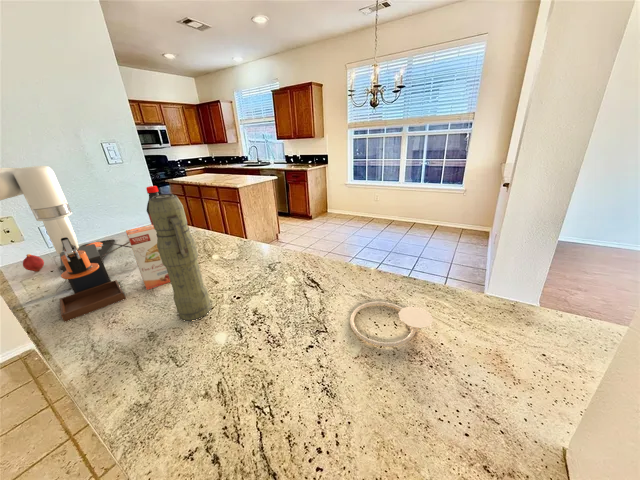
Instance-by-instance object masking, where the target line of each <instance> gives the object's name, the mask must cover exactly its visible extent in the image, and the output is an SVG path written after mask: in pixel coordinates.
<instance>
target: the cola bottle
mask: <svg viewBox="0 0 640 480" xmlns="http://www.w3.org/2000/svg"><path fill="white" fill-rule="evenodd" d="M145 190H146V193H147V195H148V201H147V204H146V213H147V215H148V219H149V221H150V225H153V222H152V219H151V216H150V213H149V199H151V198H152V197H154V196H157V195H160V193H159V192H160V191H159V188H158V186H157V185H149V186H147V187H145Z"/></svg>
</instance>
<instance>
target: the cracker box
mask: <svg viewBox="0 0 640 480" xmlns="http://www.w3.org/2000/svg"><path fill="white" fill-rule="evenodd" d="M125 233H126V236H127V239H128V242H129V241H130V243H129V244H130V246H131V247H132V248H131V250H132V253H133V256H134V258H135V261H136V264H137V267H138V270H139V273H140V275H141V278H142V281H143V285H144V287H145V289H146V290H147V291H148V290H151V289H154V288H157V287H160V286H163V285H165V284H169V283H171V282H170V278H169V275H168V272H167V269H166V267H165V266H164V265H163V263H162V260H161V257H160V254H159V251H158V248H157V235H156V234H157V232H156V230H155V229H154V226H153V225H151V224H150V225H146V226H140V227H136V228H131V229H127V230H125Z"/></svg>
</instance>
